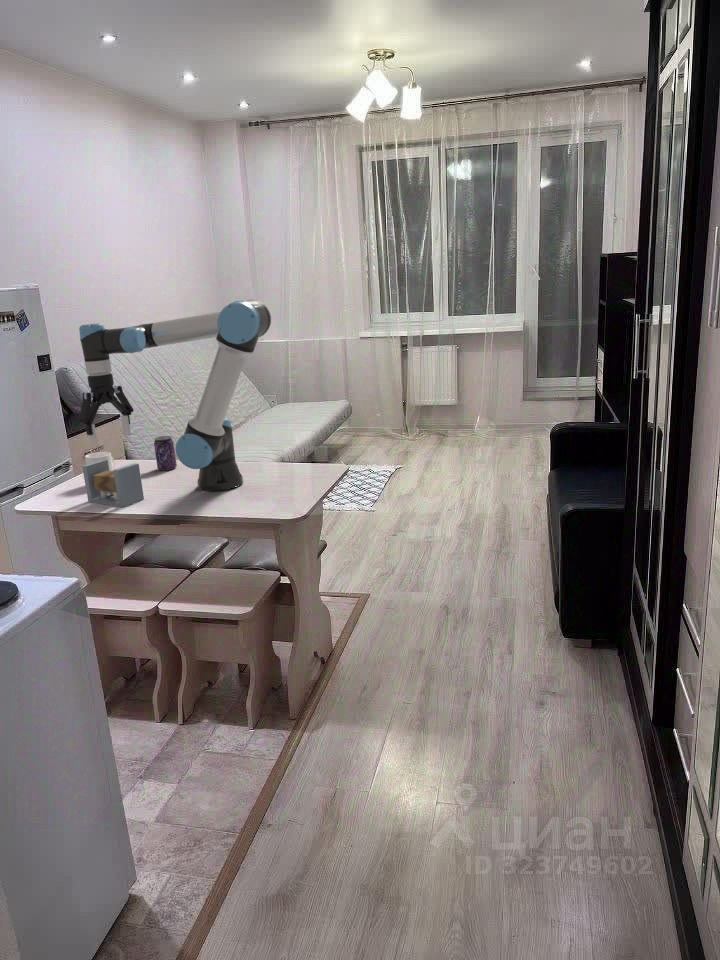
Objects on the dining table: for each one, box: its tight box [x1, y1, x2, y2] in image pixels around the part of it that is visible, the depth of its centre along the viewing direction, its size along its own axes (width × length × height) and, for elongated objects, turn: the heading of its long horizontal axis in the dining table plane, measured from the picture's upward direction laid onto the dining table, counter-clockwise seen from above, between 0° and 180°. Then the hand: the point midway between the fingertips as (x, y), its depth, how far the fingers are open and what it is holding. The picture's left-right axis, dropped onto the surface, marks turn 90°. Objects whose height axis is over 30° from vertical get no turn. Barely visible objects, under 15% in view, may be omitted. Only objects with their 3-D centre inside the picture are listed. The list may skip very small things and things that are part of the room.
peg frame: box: [81, 460, 145, 508], centre depth 232 cm, size 17×8×12 cm, turn 58°
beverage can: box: [153, 435, 178, 471], centre depth 268 cm, size 7×7×12 cm
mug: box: [84, 451, 116, 471], centre depth 255 cm, size 9×12×11 cm
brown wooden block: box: [93, 471, 117, 492], centre depth 232 cm, size 10×6×5 cm, turn 65°
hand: (111, 439), depth 231 cm, fingers open, 13 cm apart
